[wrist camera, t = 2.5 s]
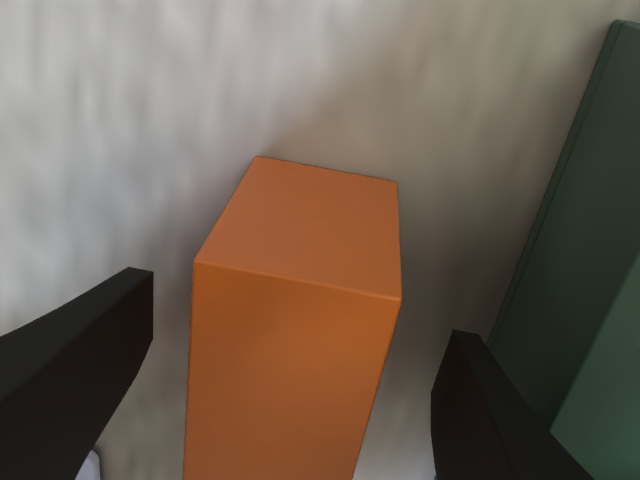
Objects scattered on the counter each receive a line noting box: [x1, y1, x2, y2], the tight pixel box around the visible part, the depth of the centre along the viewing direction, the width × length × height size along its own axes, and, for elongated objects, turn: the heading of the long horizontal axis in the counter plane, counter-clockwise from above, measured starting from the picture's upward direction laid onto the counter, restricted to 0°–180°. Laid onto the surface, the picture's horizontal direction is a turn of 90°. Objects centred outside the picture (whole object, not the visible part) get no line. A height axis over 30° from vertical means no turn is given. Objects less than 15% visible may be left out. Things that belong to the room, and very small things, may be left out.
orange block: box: [182, 156, 402, 480], centre depth 13 cm, size 4×7×5 cm, turn 171°
